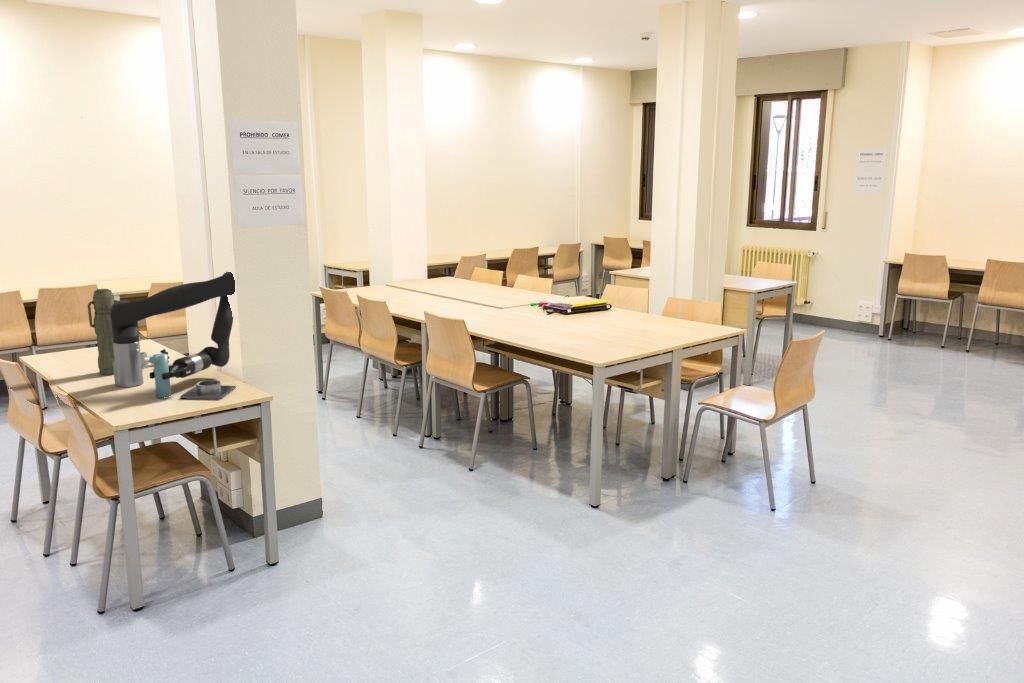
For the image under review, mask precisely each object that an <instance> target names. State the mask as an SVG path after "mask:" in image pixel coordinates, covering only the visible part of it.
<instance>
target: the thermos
mask: <svg viewBox="0 0 1024 683" xmlns="http://www.w3.org/2000/svg"><path fill="white" fill-rule="evenodd" d="M117 301H118V299H115V297H114V293H113V291H112V290H111V289H109V288H98V289H96V290H94V292H93V296H92V300H91V301H89V302H88V303H87V312H88V322H89V327H90V328H93V329H94V333H95V335H96V343H97V352H98V356H97V366H98V370H99V375H100V374H101V375H100V376H114V369H113V362H114V361H115V356H114V346H113V337H112V323H111V318H110V310H111V307H112V305H113V304H114V303H115V302H117ZM92 305H93V309H94V317H92V307H91V306H92Z"/></svg>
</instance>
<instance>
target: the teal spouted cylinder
mask: <svg viewBox="0 0 1024 683" xmlns="http://www.w3.org/2000/svg"><path fill="white" fill-rule="evenodd" d="M168 355H169V353H168V354H161V353H156V354H153V355H151V356H152V357H150V358H149V361H150V363H149V364H152V365H153V369H154V375H155V378H154V385H155V393H156V394H155V396H156V398H157V397H158V398H157V399H159V398H164V397H169V396H171V397H172V392H171V390H172V389H171V380H170V379H171V378H169V379H166V380H163V379H162V374H164V373H167V372H169V365H170V364H169V363H168V361H169V359H168ZM169 398H170V397H169ZM164 399H165V398H164Z"/></svg>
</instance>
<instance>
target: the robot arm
mask: <svg viewBox="0 0 1024 683" xmlns="http://www.w3.org/2000/svg"><path fill="white" fill-rule="evenodd" d="M225 272H226V273H225ZM225 272H224V273H223V274H222V275H220V276H217V277H215V278H213V279H209V280H204V281H197V282H196V281H195V282H188V283H184V284H183V283H182V284H179V285H175V286H172V287H169V288H166V289H164V290H161V291H158V292H157V293H154V294H152V295H150V296H148V297H145V298H141V299H137V300H133V301H129V300H127V299H120V300H117V302H115V303H114V304H113V305H112V307H111V310H110V318H111V323H112V337H113V346H114V356H115V361H114V362H113V369H114V375H113V377H114V386H115V387H121V388H130V387H131V388H132V387H138V386H141V385H143V384H144V374H143V369H142V363H141V344H140V332H139V331H140V330H139V322H140V321H142V320H145V319H148V318H150V317H153V316H158V315H163V314H167V313H172V312H176V311H180V310H183V309H187V308H190V307H193V306H195V305H199V304H203V303H204V302H206V301H211V300H213V299H216V298H219V302H218V307H217V311H216V314H215V318H214V323H213V326H212V329H211V330H212V331H211V334H210V338H211V340H212V341H213V342H214V343H215V344H216V345H217V347H215V346H206V347H204V348H203V349H202V350H200V351H199V352H198V353H194V354H189V355H185V356H183V357H179V358H177V359H175V360H174V361H173V362H172V363H171V364H168V365H169V372H167V373H164V374H162V379H163V380H166V379H169V378H170V379H174V378H176V379H179V378H180V379H182V378H187V377H191V376H192V375H195V374H197V373H199V372H202V371H204V370H207V369H209V368H210V367H211V366H212V365H213V366H216V367H219V368H223V367H225V366H227V364H228V363H229V361H230V338H231V337H230V336H231V333H232V329H233V324H234V316H233V317H232V311H231V308H230V304H229V302H228V297H227V295H232V294H234V292H235V280H234V277H233V274H232V273H231V272H227V271H225ZM152 370H153V371H152V372H149V378H150V379H155V375H154V368H153V369H152ZM137 385H138V386H137Z"/></svg>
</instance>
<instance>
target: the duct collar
mask: <svg viewBox="0 0 1024 683" xmlns="http://www.w3.org/2000/svg"><path fill="white" fill-rule="evenodd" d="M235 388H236V389H237V385H224V384H223V385H222V384H221V380H218V379H217V380H216V379H207V380H201V381H198V382H196V383H195V386H194V387H192V388H191V389H190V390H187V391H186V392H184V393H183V394H182V395H180V397H179V398H180V399H181V398H186V399H185V400H207V399H221V400H222V399H224V398H225V397H227V396H228V395H230V394H231V393H232V392H233V390H234V389H235ZM236 389H235V390H236ZM235 390H234V391H235ZM231 391H232V392H231ZM230 392H231V393H230ZM227 394H228V395H227ZM226 395H227V396H226ZM223 397H224V398H223Z"/></svg>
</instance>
